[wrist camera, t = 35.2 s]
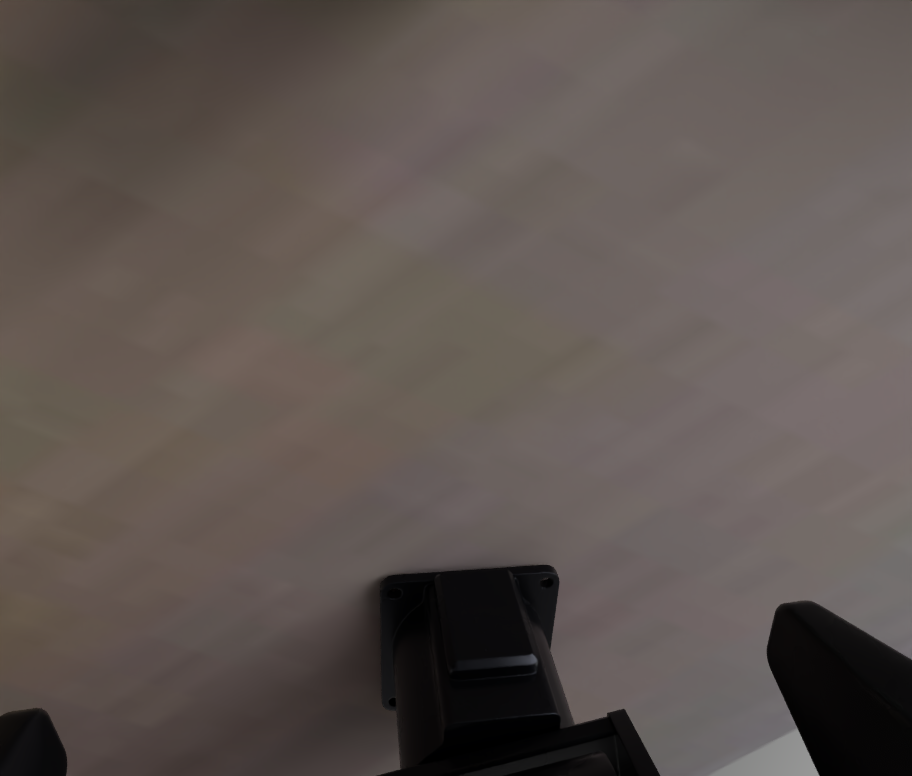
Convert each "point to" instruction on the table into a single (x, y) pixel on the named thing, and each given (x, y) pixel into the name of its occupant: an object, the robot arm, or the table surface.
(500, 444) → the table surface
